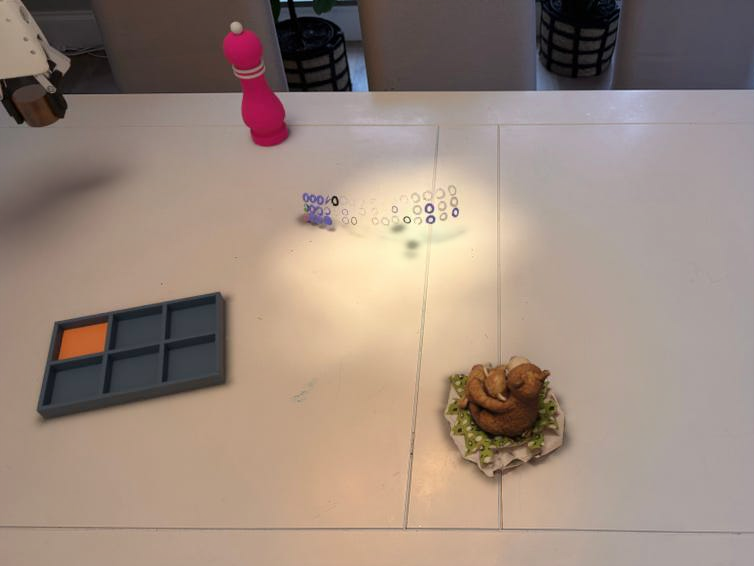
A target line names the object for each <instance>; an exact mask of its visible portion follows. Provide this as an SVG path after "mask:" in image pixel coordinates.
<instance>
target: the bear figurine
mask: <svg viewBox="0 0 754 566" xmlns="http://www.w3.org/2000/svg"><path fill="white" fill-rule="evenodd" d="M549 376H551V371H550V370H549V369H544V370H542V369H541V368H540V367H539V366H538V365H535V364H534V363H532V362H531V361H530V360H529V358H527V357H526V356H522V355H515V356H511V358H510V359H509V362H507V363H506V364H499V365H498V364H497V365H495V366H494V367H493V364H492V363H491V362H487V361H486V362H485V363H484V364H483V363H477V364H474V365H473V366H472V367H471V370H470V372H468V373H460V374H458V373H457V374H456V373H455V374H451V375H449V377H448V380H449V382H450V384H451V386H450V391H449V395H448V400H447V404H446V408H445V410H444V412H443V413H444V414H443V415H444V418H445V422H446V425H447V430H448V434H449V437H451V439H452V440H453V442H454V444H455V446H456V447H457V449H458V451H459V452H460V454H461V456H462V458H464V460H468V461H470V462H473V463H475V464H477V466H478V468H479V470H481V471H482V472H483V473H484V474H485V475H486V477H489V478H492V477H493V478H494V471H496V470H499V471H504V470H507V469H511V468H513V467H517V466H520V465H523V464H524V463H527V462H528V461H529V460H532V459H533V458H540V457H542V456H543V457H544V456H545V455H547V454H549V453H551V452H552V451H554V450H556V449H558V448H559V447H561V446H562V445H563V440H564V429H565V428H564V427H565V416H566V415H565V412H564V411H563V409H562V408H561V407H560V405H559V402H558V400H557V397H556V395H555V393H554V391H553V389H552V388H551V387H549V385H550V381H549V380H547V381H546V379H548V377H549ZM516 459H518V460H519V461H522V462H523V463H518V464H513V465H509V466H507V465H508V464H510V463H511V462H512V461H513V460H516Z"/></svg>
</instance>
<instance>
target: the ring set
mask: <svg viewBox="0 0 754 566" xmlns="http://www.w3.org/2000/svg"><path fill="white" fill-rule="evenodd" d="M451 188H452V189H454V193H451ZM379 189H380V188H378V190H379ZM438 191H441V192H442V195H441V196H437V192H438ZM447 191H448V193H449V195H450V196H451V198H450V200H449V206H450V207H452V208H453V209H452V211H451V217H453V218H457V217H459V213H460V209H459V208H458V207H457V206H458V204H459V199H458V197H457V196H456V195H457V187H456V186H455V185H454V184H449V185H448V187H447ZM426 194H430V198H426ZM434 195H435V198H436V199H438V200H440V201H439V202H438V204H437V207H438V211H440V212H441V214H440V213H439V220H440V221H441V222H445V221H447V219H448V213H447V212H445V211H446V210H447V206H448V205H447V203H446V201H444V200H442V199H444V198H445V197H446V192H445V190H444V189H443V188H441V187H440V188H437V189H435V192H434V193H433V192H432V191H430V190H425V191H423V193H422V200H424V201H425V202H428V203H426V204H425V205H424V213H426V214H428V216H427V217H425V222H426V224H429V225H433V224H434V223H436V221H437V220H436V219H437V218H436V216H435V215H433V213H434V212H435V206H434V204H433V203H431V202H430V201H432V200H433V198H434ZM414 196H417V200H414V198H413V197H414ZM341 197H344V198H345V199H347V197H346V196H345V195H341V196H340V197H339V198H338V196H337V195H333V196H331V198H330V197H329V195H327V197H326V199H325V198H324V196H323V195H321V194H318V195H315V194H314V193H311V194H310V195H309V193H308V192H304V193H302V201H303V202H304V205H303V207H304V208H303V211H304V212H305V213H304V214H302V216H301V218H302V221H304V222H305V223H307V222H311V223H316V224H318V225H322V224H325V225H327V226H332V225H333V220H332V218H331V217H330V215H331V214H332V213H331V209H330V208H329V206H328V207H327V206H326V207H324V208H322V207H321V206H322V205H327V204H328V203H329V202H330V203H331V204H332V206H333V207H338V206H339V204H342V205H344V206H345V204H347V203H349V205H350V206H351V207H353V206H355V205H356V200H355V198H354V197H350V198H349V199H348V201H346V202H345V203H344V204H343V203H342V202H341ZM402 197H405V198H406V200H409V198H408V197H407V195H405V194H404V195H401V196H400V197H399V200H400V201H402ZM334 199H335V202H334ZM360 199H361V200H362V201H363V203H362V204H359V206H360V208H359V210H360V209H361V210H364V208H363V207H362V206H363V205H364V204H365V200H364V199H363V198H362V197H359V198H357V201H358V200H360ZM410 199H411V201H413V203H414V204H415V205H413V206H412V212H413V214H414V215H416V217H414V219H413V222H414V223H415V224H417V225H422V223H423V219H422V217H420V216H419V215H421V214H422V212H423V208H422V205H421V206H420V205H418V203H419V202H420V201H421V196H420V194H419V193H418V192H412V193H411V195H410ZM320 200H321V201H320ZM350 200H353V201H354V204H351V202H350ZM372 200H374V201H375V200H376V198H372ZM454 200H455V204H454V203H453V201H454ZM374 201H371V203H373V202H374ZM395 201H396V202H397V201H398V200H397V198H395ZM309 202H310V204H308V203H309ZM315 203H316V204H317V206H315V205H314V204H315ZM391 203H392V202H391ZM408 203H409V201H406V204H408ZM384 204H386V203H384V202H383V205H384ZM392 204H393V205H392V206H391V212H392V213H393V214H396V213H398V211H399V208H398V206H396V205H394V203H392ZM441 204H443V205H444V206H443V207H440V205H441ZM429 207H430V209H431V210H430V211H429V209H428V208H429ZM394 208H395V209H396V211H395V209H394ZM416 208H419V212H418V209H417V210H416V211H417V212H416V211H415V209H416ZM323 209H324V210H323ZM326 209H328V212H325V210H326ZM374 209H375V210H376V211H377V213H376V212H375V213H373V210H374ZM318 210H320V212H319V211H318ZM336 210H337V211H338V214H335V216H336V217H338V216H339V215H340V210H338V208H335V209H334V211H336ZM393 210H394V211H393ZM343 211H346V214H345V216H343V217H342V218H341V221H342V222H344V219H347V223H345V222H344V225H348V224H350V223H351V225H354V226H355V225H356V224H358V220H357V218H356V217H355V216H352V217H351V219H349V218H348V217H347V216H348V215H349V211H348V209H347V208H343V209H342V210H341V214H342V215H344V212H343ZM455 212H456V214H455ZM308 213H310V214H308ZM316 213H317V215H316V216H315V214H316ZM371 213H372V214H373V215H374V216H376V215H377V216H378V214H379V210H378V209H377V207H373V208H372V209H371ZM323 215H324V216H323ZM359 215H361V216H362V213H359ZM365 215H366V211H364V214H363V216H365ZM322 216H323V217H322ZM442 216H445V217H444V218H442ZM395 218H397V222H395V221H394V220H393V219H395ZM407 218H408V219H409V221H408V222H407V220H406V219H407ZM353 219H355V223H353ZM385 219H386V220H387V222H388V223H387V224H385V223H384V222H383V220H385ZM418 219H419V220H420V221H419V222H418V223H417V222H416V220H418ZM430 219H432V221H430ZM339 220H340V219H339ZM349 220H350V222H349ZM373 220H377V223H374V221H373ZM402 221H403V223H405V224H410V223H411V222H412V218H411V217H410V216H408V215H405V216H403V219H402ZM391 222H392V223H394V224H395V225H398V224H399V223H400V218H399V217H398V216H397V215H393V216H391ZM371 223H372V224H373V225H375V226H377V225H379V224H380V223H381V224H382V226H385V227H388V226H389V225H390V220H389V219H388V217H385V216H384V217H381V219H380V221H379V219H378V218H377V217H372V218H371ZM368 229H370V227H368ZM375 236H376V237H377V235H375Z"/></svg>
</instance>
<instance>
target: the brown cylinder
mask: <svg viewBox="0 0 754 566" xmlns="http://www.w3.org/2000/svg"><path fill="white" fill-rule="evenodd" d="M11 99H12V101H13V103H14V104H15V106H16V108H17V109H18V111H19V113H20V114H21V116H22V118H23V119H24V123H25V124H26V125H27V126H28V127H30V128H36V129H37V128H45V127H48V126H51V125H53V124H55V123H56V122H58V121H59V120H61V119H60V118H58V117H57V115H56V114H55V112H54V110H53V108H52V107H51V105H50V103H49V101H48V99H47V98H46V89H45V88H44V87H43V86H42V85H41V84H40V83H38V84H29V85H25V86H22V87H20V88H17V89H16V90H15V91H14V93H13V94H12V95H11Z"/></svg>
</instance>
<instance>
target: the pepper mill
mask: <svg viewBox="0 0 754 566" xmlns="http://www.w3.org/2000/svg"><path fill="white" fill-rule="evenodd" d="M229 28H230V32H229V33H228V34H226V36H225V37H224V39H223V42H222V50H223V55H224V56H225V58H226V60H227V61H228V62H229V63H230V64H231V68H232V70H233V74H234V75H235V76H236V77H237V78H238V80H239V81H240V85H241V88H242V98H241V107H240V112H241V117H242V118H241V119H242V121H243V123H244V125H245V127H247V128H249V133H250V136H251V139H252V141H253V143H254V144H255V145H257V146H260V147H273V146H277V145H280V144H281V143H283V142H284V141H286V140H287V138H288V136H289V130H288V127H287V124H286V122H285V119H286V109H285V106H284V104H283V102H282V101H281V99H280V98H279V97H278V95H277V94H275V92H274V91H273V89H272V88H271V87H270V86H269V84H268V82H267V79H266V77H265V72H266V65H265V60H264V59H263V58H262V57H263V54H264V48H263V43H262V41H261V39H260V38H259V37H258V35H256V34H255V33H254V32H252V31H250V30H248V29H244V28H243V25H242V24H241V23H240V22H239V21H233V22H231V23H230V27H229Z"/></svg>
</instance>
